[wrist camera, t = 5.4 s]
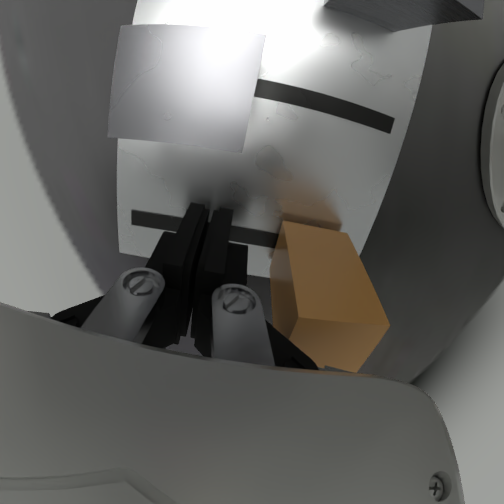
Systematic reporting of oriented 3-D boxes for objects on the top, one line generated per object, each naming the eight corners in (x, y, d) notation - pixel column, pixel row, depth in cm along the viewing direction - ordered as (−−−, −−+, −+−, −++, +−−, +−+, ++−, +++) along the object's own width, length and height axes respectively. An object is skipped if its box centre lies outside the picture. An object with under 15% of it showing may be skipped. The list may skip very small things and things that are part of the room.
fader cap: (347, 233, 12) (390, 325, 8) (329, 277, 13) (355, 373, 9) (282, 220, 12) (298, 317, 7) (269, 268, 13) (275, 369, 9)
